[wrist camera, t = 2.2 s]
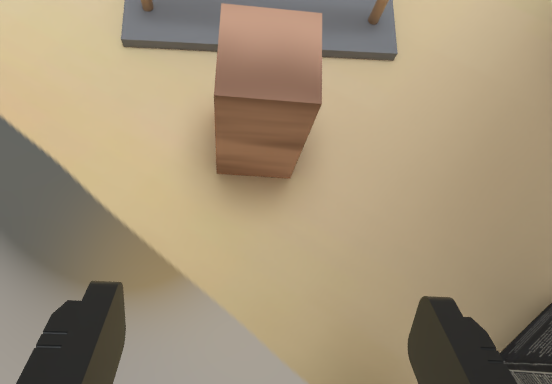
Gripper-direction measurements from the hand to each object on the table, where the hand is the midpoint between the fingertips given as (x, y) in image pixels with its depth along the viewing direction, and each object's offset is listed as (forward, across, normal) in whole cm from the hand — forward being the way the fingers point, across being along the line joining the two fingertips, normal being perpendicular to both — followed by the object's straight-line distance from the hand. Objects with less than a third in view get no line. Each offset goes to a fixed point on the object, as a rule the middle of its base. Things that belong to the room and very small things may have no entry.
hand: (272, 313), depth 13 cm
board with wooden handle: (+25, 0, -3) cm, 25 cm away
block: (+18, 0, +3) cm, 18 cm away
